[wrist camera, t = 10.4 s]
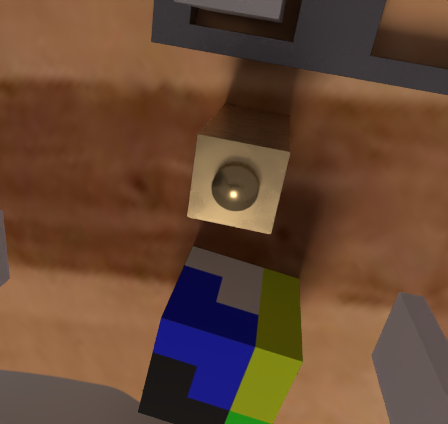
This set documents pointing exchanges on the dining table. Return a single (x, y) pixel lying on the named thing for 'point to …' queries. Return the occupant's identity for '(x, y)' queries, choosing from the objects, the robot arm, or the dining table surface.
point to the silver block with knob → (243, 8)
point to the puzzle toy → (225, 344)
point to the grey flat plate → (305, 42)
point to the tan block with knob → (240, 168)
